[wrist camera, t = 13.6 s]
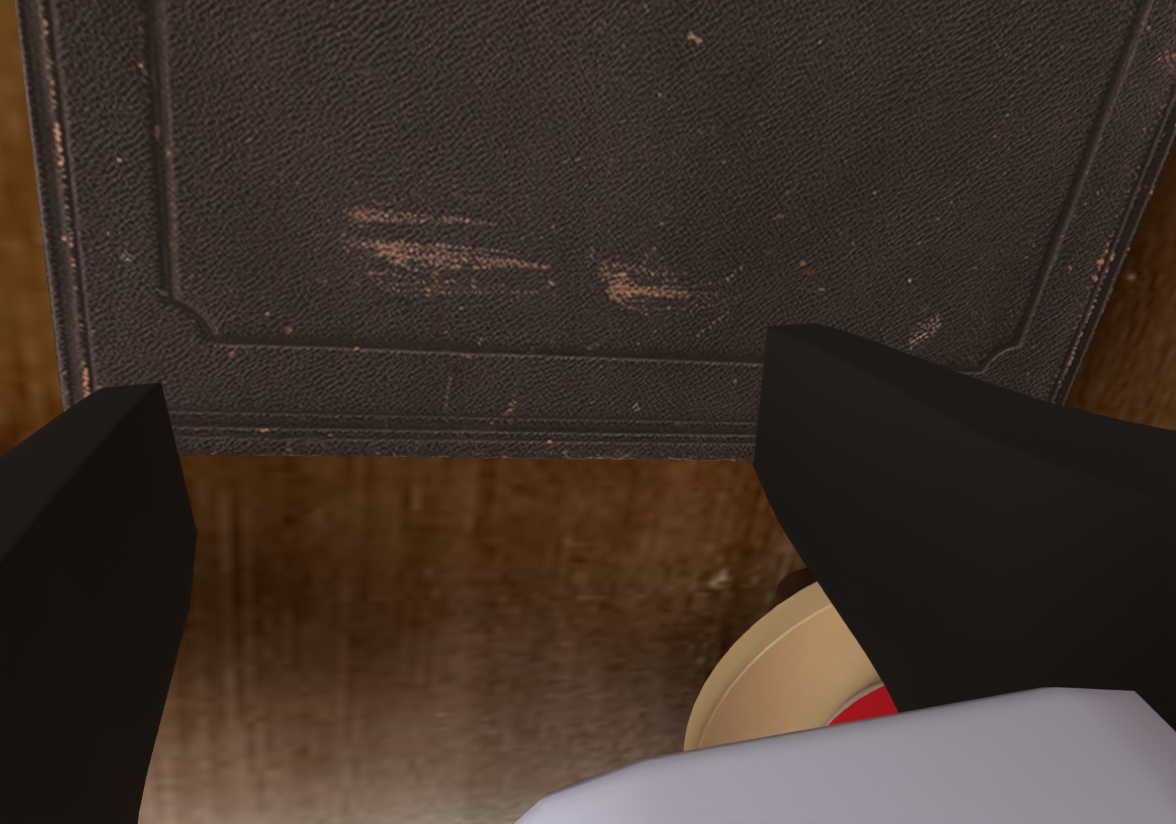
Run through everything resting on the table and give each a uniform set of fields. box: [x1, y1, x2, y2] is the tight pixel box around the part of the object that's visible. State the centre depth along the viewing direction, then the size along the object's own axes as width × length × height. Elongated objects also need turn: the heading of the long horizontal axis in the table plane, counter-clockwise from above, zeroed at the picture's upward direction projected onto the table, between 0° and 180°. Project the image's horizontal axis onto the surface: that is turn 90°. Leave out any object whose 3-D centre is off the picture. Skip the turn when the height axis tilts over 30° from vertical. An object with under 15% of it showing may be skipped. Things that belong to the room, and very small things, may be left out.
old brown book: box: [15, 0, 1176, 461], centre depth 20 cm, size 16×23×2 cm
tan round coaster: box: [684, 570, 882, 751], centre depth 29 cm, size 12×12×3 cm
